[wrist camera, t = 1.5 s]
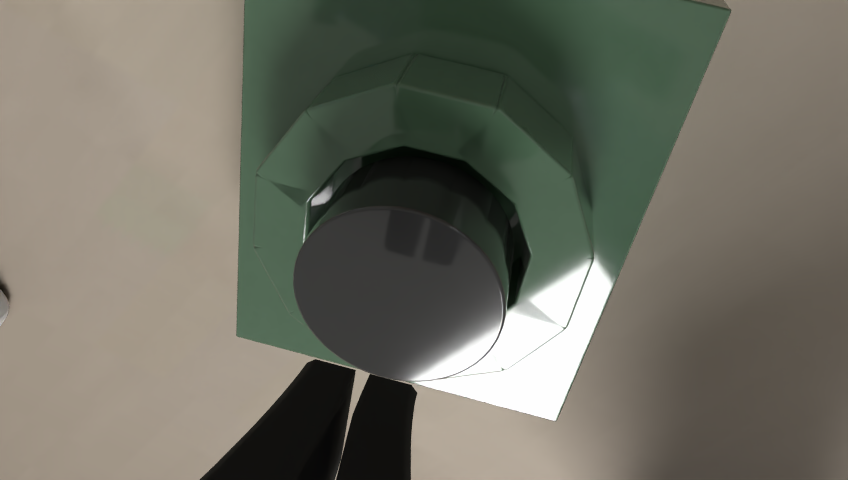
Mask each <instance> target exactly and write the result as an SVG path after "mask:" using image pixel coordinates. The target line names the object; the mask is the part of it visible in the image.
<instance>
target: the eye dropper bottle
mask: <svg viewBox="0 0 848 480" xmlns="http://www.w3.org/2000/svg"><path fill="white" fill-rule="evenodd" d="M8 311H9V302H8V300H7V298H6V296H5V295H4V293H3V292H2V291H1V289H0V326H1V324H2V323H3V322H4V320H5V319H6V317H7V315H8Z"/></svg>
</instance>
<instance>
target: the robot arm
mask: <svg viewBox="0 0 848 480" xmlns="http://www.w3.org/2000/svg"><path fill="white" fill-rule="evenodd" d="M355 371H356V370H353V369H350V368H346V367H342V366H338V365H335V364H331V363H327V362H323V361H320V360H316V359H315V360H313V361H310V362H308V363H307V364H306V365H305V366H304V368H303V369H302V370H301V372H300V373H299V374H298V376H297V377H296V378H295V379H294V381H293V382H292V383H291V384H290V385H289V387H288V388H287V389H286V390H285V391H284V393H283V394H282V395H281V396H280V397H279V398H278V400H277V401H276V402H275V403H274V404H273V405H272V406H271V407H270V409H269V410H268V411H267V412H266V413H265V414H264V415H263V416H262V417H261V418H260V419H259V420H258V422H257V423H256V424H255V425H254V426H253V427H252V428H251V429H250V430H249V431H248V432H247V433H246V434H245V435H244V436H243V437H242V438H241V439H240V440H239V441H238V442H237V443H236V444H235V445H234V446H233V447H232V448H231V449H230V450H229V451H228V452H227V453H226V454H225V455H224V456H223V457H222V458H221V459H220V460H219V461H218V462H217V463H216V464H215V466H214V467H212V468H211V469H210V470H209V471H208V472H207V473H206V474H205V475H204V476H203V477H202V478H201V479H200V480H335V477H336V474H337V470H338V467H339V464H340V467H339V471H338V475H337V479H336V480H411V431H412V419H413V412H414V405H415V400H416V395H417V392H416V391H415V389H414V388H413V387H412V385H409V384H406V383H402V382H398V381H395V380H391V379H387V378H383V377H380V376H376V375H372V374H370V375H369V378H368V380H367V382H366V384H365V387H364V389H363V391H362V393H361V396H360V398H359V401H358V403H357V406H356V408H355V410H354V413H353V416H352V420H351V423H350V427H349V431H348V435H347V439H346V443H345V447H344V451H343V455H342V450H343V444H344V438H345V432H346V426H347V420H348V413H349V407H350V401H351V395H352V389H353V383H354V377H355ZM341 456H342V459H341ZM340 461H341V463H340Z"/></svg>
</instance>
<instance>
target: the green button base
mask: <svg viewBox="0 0 848 480" xmlns="http://www.w3.org/2000/svg"><path fill="white" fill-rule="evenodd" d="M730 13H731V9H730V8H729V7H728V5H727V4H726V3H725V1H724V0H245V4H244V45H243V85H242V126H241V167H240V208H239V249H238V290H237V331H236V336H237V337H241V338H245V339H248V340H252V341H256V342H260V343H263V344H267V345H271V346H275V347H278V348H282V349H286V350H290V351H293V352H297V353H301V354H305V355H308V356H312V357H316V358H319V359H323V360H327V361H331V362H334V363H338V364H342V365H346V366H349V367H353V368H356V367H354V366H353V365H351V364H349V363H347V362H345V361H344V360H342V359H341V358H339V357H338V356H336V355H335V354H334V353H332V352H331V351H330V350H329V349H328V348H326V347H325V346H324V345H323V344H322V343H321V342H320V341H319V340H318V339H317V338H316V336H315V335H314V334H313V332H312V331H311V330H310V329H309V327H308V325H307V324H306V322H305V321H304V319H303V317H302V315H301V313H300V311H299V308H298V305H297V302H296V299H295V294H294V287H293V271H294V265H295V261H296V258H297V255H298V252H299V250H300V248H301V246H302V245H303V243H304V241H305V239H306V238H307V236H308V235H309V233H310V231H311V230H312V228H313V226H314V225H315V223H316V222H317V220H318V218H319V217H320V215H321V214H322V212H323V210H324V209H325V207H326V206H327V204H328V202H329V201H330V199H331V197H332V196H333V194H334V193H335V191H336V190H337V189H338V187H339V186H340V185H341V183H342V182H343V181H344V180H345V179H347V178H348V177H349V176H350V175H351V174H353V173H354V172H355V171H357V170H358V169H360V168H362V167H364V166H366V165H368V164H370V163H373V162H376V161H379V160H382V159H387V158H392V157H402V156H414V157H425V158H430V159H435V160H439V161H442V162H445V163H448V164H450V165H453V166H455V167H457V168H459V169H461V170H463V171H465V172H466V173H468V174H470V175H471V176H473V177H474V178H475V179H477V180H478V181H479V182H481V183H482V184H483V185H484V186H485V187H486V188H487V189H488V190H489V191H490V192H491V193H492V194H493V195H494V197H495V198H496V199H497V200H498V202H499V203H500V205H501V206H502V208H503V210H504V211H505V213H506V215H507V218H508V220H509V222H510V225H511V229H512V233H513V238H514V260H513V267H512V274H511V282H510V289H509V297H508V304H507V311H506V318H505V322H504V327H503V329H502V332H501V334H500V337H499V339H498V340H497V342H496V343H495V345H494V347H493V348H492V349H491V350H490V351H489V352H488V354H487V355H486V356H485V357H484V358H483V359H481V360H480V361H479V362H478V363H477V364H475V365H474V366H472V367H470V368H469V369H467V370H465V371H463V372H461V373H459V374H456V375H454V376H450V377H447V378H444V379H438V380H433V381H422V382H411V381H406V382H409V383H413V384H417V385H421V386H424V387H428V388H432V389H436V390H439V391H443V392H447V393H451V394H454V395H458V396H462V397H466V398H469V399H473V400H477V401H481V402H484V403H488V404H492V405H495V406H499V407H503V408H507V409H510V410H514V411H518V412H522V413H525V414H529V415H533V416H537V417H540V418H544V419H548V420H552V421H557V419H558V417H559V414H560V412H561V410H562V407H563V405H564V403H565V400H566V398H567V396H568V393H569V391H570V389H571V386H572V384H573V382H574V379H575V377H576V375H577V372H578V370H579V368H580V365H581V363H582V360H583V358H584V356H585V353H586V351H587V349H588V346H589V344H590V342H591V339H592V337H593V335H594V332H595V330H596V328H597V325H598V323H599V321H600V318H601V316H602V314H603V311H604V309H605V307H606V304H607V302H608V300H609V297H610V295H611V292H612V290H613V288H614V285H615V283H616V281H617V278H618V276H619V274H620V271H621V269H622V267H623V264H624V262H625V260H626V257H627V255H628V253H629V250H630V248H631V246H632V243H633V241H634V239H635V236H636V234H637V232H638V229H639V227H640V224H641V222H642V220H643V217H644V215H645V213H646V210H647V208H648V206H649V203H650V201H651V199H652V196H653V194H654V192H655V189H656V187H657V185H658V182H659V180H660V178H661V175H662V173H663V171H664V168H665V166H666V164H667V161H668V159H669V157H670V154H671V152H672V149H673V147H674V145H675V142H676V140H677V138H678V135H679V133H680V131H681V128H682V126H683V124H684V121H685V119H686V117H687V114H688V112H689V110H690V107H691V105H692V103H693V100H694V98H695V96H696V93H697V91H698V89H699V86H700V84H701V81H702V79H703V77H704V74H705V72H706V70H707V67H708V65H709V63H710V60H711V58H712V56H713V53H714V51H715V49H716V46H717V44H718V42H719V39H720V37H721V35H722V32H723V30H724V28H725V25H726V23H727V21H728V18H729V16H730ZM357 369H358V368H357Z"/></svg>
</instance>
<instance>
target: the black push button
mask: <svg viewBox="0 0 848 480" xmlns="http://www.w3.org/2000/svg"><path fill="white" fill-rule="evenodd" d="M513 260H514V238H513V233H512V229H511V225H510V222H509V220H508V218H507V215H506V213H505V211H504V210H503V208H502V206H501V205H500V203H499V202H498V200H497V199H496V198H495V197H494V195H493V194H492V193H491V192H490V191H489V190H488V189H487V188H486V187H485V186H484V185H483V184H482V183H481V182H479V181H478V180H477V179H475V178H474V177H473V176H471V175H470V174H468V173H466V172H465V171H463V170H461V169H459V168H457V167H455V166H453V165H450V164H448V163H445V162H442V161H439V160H435V159H430V158H425V157H414V156H402V157H392V158H387V159H382V160H379V161H376V162H373V163H370V164H368V165H366V166H364V167H362V168H360V169H358V170H357V171H355V172H354V173H353V174H351V175H350V176H349V177H348V178H347V179H345V180H344V181H343V182H342V183H341V185H340V186H339V187H338V189H337V190H336V191H335V193H334V194H333V196H332V197H331V199H330V201H329V202H328V204H327V206H326V207H325V209H324V210H323V212H322V214H321V215H320V217H319V218H318V220H317V222H316V223H315V225H314V226H313V228H312V230H311V231H310V233H309V235H308V236H307V238H306V239H305V241H304V243H303V245H302V246H301V248H300V250H299V252H298V255H297V258H296V261H295V265H294V271H293V287H294V294H295V299H296V302H297V305H298V308H299V311H300V313H301V315H302V317H303V319H304V321H305V322H306V324H307V325H308V327H309V329H310V330H311V331H312V332H313V334H314V335H315V336H316V338H317V339H318V340H319V341H320V342H321V343H322V344H323V345H324V346H325V347H326V348H328V349H329V350H330V351H331V352H332V353H334V354H335V355H336V356H338V357H339V358H341V359H342V360H344V361H345V362H347V363H349V364H351V365H353V366H354V367H356V368H358V369H361V370H363V371H365V372H368V373H370V374H373V375H377V376H380V377H383V378H388V379H393V380H399V381H411V382H422V381H433V380H438V379H444V378H447V377H450V376H454V375H456V374H459V373H461V372H463V371H465V370H467V369H469V368H470V367H472V366H474V365H475V364H477V363H478V362H479V361H480V360H481V359H483V358H484V357H485V356H486V355H487V354H488V352H489V351H490V350H491V349H492V348H493V347H494V345H495V343H496V342H497V340H498V339H499V337H500V334H501V332H502V329H503V327H504V322H505V318H506V311H507V304H508V297H509V289H510V282H511V274H512V267H513Z"/></svg>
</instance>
